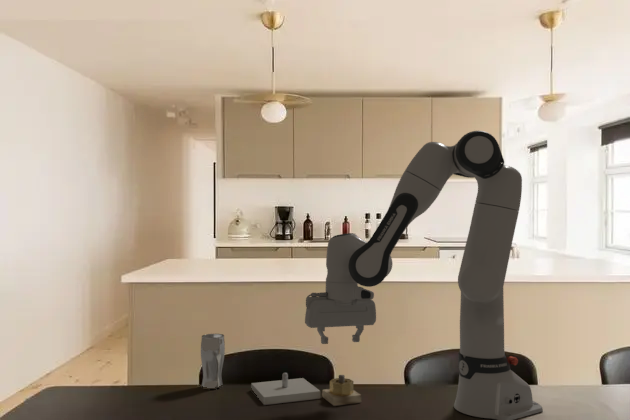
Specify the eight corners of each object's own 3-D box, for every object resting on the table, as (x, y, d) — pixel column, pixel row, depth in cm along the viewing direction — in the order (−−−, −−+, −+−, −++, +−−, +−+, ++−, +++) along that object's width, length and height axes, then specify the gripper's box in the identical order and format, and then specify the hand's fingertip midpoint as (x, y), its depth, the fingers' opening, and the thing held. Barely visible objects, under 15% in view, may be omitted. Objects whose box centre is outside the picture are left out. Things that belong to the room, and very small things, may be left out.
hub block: (303, 384, 156) (303, 364, 156) (320, 398, 143) (320, 376, 143) (251, 390, 150) (251, 369, 150) (264, 404, 137) (264, 381, 137)
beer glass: (218, 391, 149) (219, 338, 149) (196, 389, 150) (197, 337, 151) (227, 384, 155) (228, 334, 156) (205, 383, 157) (206, 332, 158)
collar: (346, 388, 146) (346, 377, 146) (356, 394, 140) (356, 383, 140) (327, 390, 143) (327, 379, 144) (335, 396, 138) (335, 385, 138)
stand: (348, 394, 147) (348, 370, 147) (361, 402, 139) (361, 377, 140) (322, 397, 144) (322, 373, 144) (333, 405, 136) (333, 380, 137)
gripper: (310, 294, 136) (309, 347, 136) (379, 292, 144) (378, 343, 143) (302, 291, 142) (300, 342, 142) (368, 290, 150) (367, 338, 149)
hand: (340, 342), depth 142 cm, fingers open, 8 cm apart
